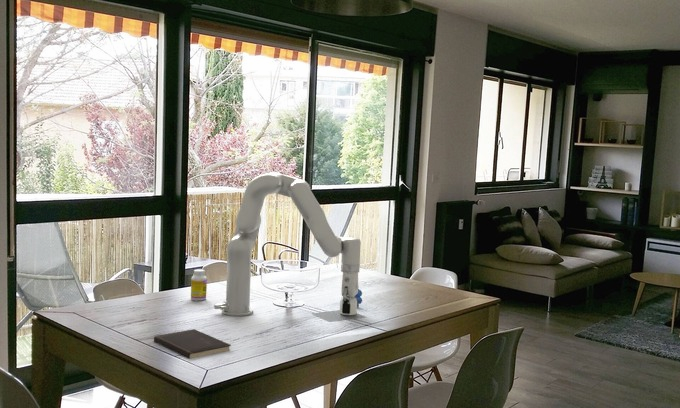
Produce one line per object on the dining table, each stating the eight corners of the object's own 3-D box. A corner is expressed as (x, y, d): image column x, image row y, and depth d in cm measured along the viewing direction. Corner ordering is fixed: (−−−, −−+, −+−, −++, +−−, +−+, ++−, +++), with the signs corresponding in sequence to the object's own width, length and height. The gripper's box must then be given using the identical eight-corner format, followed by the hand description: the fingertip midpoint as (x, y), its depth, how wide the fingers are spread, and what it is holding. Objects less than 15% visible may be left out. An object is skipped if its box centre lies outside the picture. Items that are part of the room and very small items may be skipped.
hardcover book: (194, 335, 245) (194, 329, 244) (230, 351, 228) (230, 344, 228) (153, 342, 234) (153, 336, 233) (188, 360, 217) (189, 353, 217)
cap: (353, 315, 273) (354, 301, 273) (338, 314, 275) (339, 299, 274) (357, 312, 279) (358, 297, 279) (342, 310, 281) (343, 296, 280)
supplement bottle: (204, 301, 293) (205, 272, 292) (189, 300, 293) (189, 271, 292) (207, 297, 299) (208, 269, 298) (192, 297, 300) (193, 268, 298)
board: (329, 325, 264) (329, 310, 263) (310, 317, 276) (311, 302, 275) (366, 320, 274) (367, 306, 273) (347, 312, 286) (347, 298, 285)
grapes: (334, 306, 296) (335, 278, 295) (344, 303, 301) (346, 277, 300) (354, 311, 288) (355, 283, 287) (364, 309, 293) (366, 281, 292)
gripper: (354, 272, 266) (351, 317, 268) (364, 265, 283) (362, 307, 284) (335, 270, 268) (333, 315, 270) (346, 263, 285) (344, 305, 286)
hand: (348, 310), depth 277 cm, fingers closed on cap, 6 cm apart
